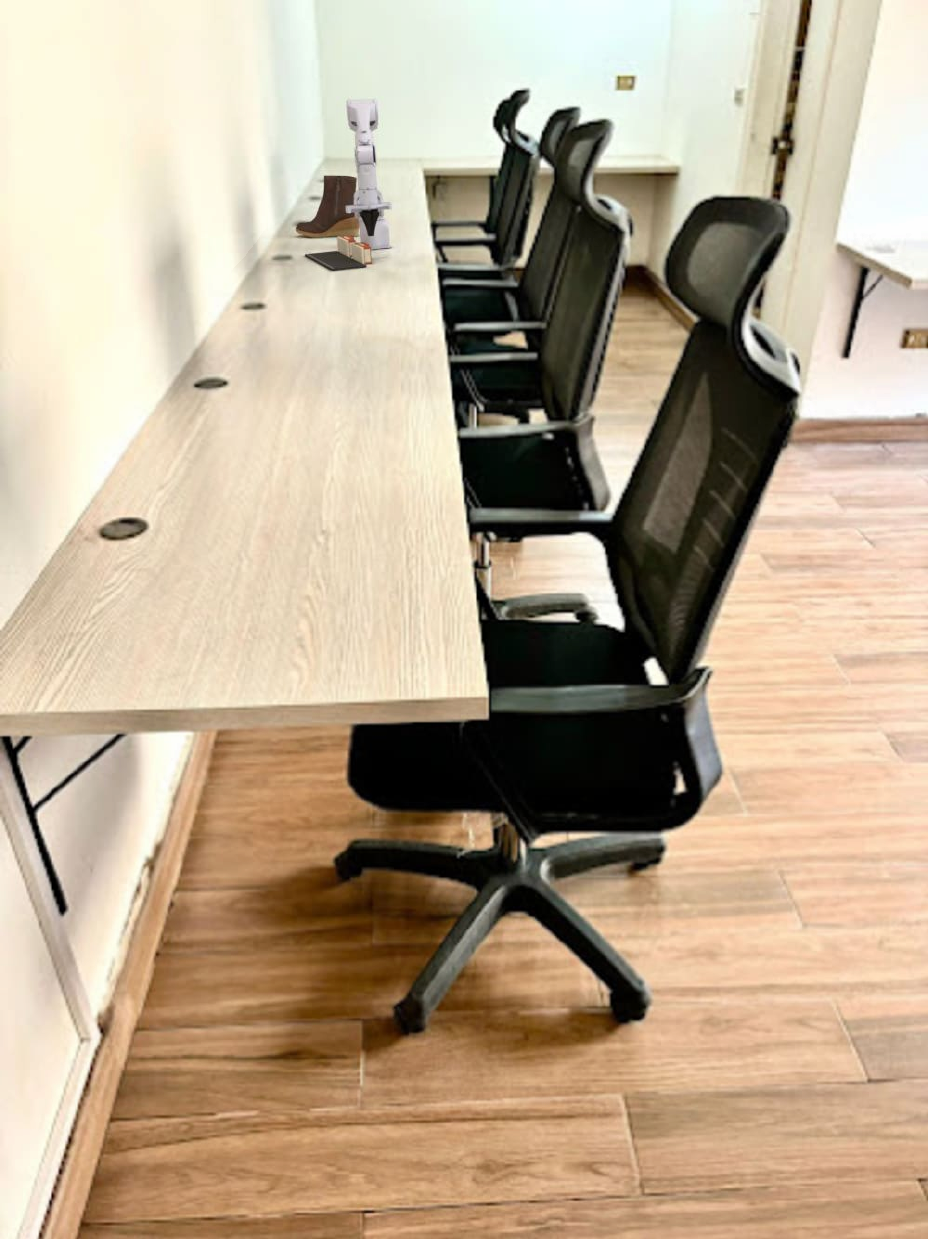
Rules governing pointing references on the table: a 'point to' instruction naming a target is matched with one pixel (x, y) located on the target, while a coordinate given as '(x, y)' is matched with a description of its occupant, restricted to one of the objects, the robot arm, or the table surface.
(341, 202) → the boot
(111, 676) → the table surface
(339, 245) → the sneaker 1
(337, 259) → the shoe mat
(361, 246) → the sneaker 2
